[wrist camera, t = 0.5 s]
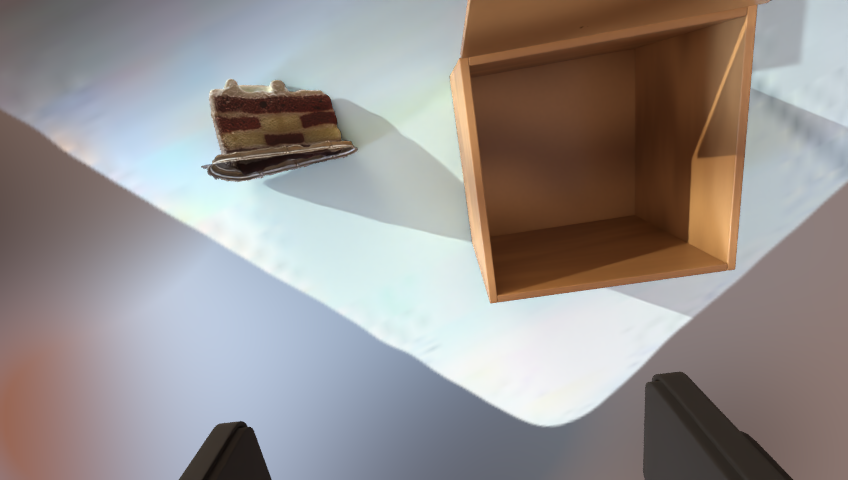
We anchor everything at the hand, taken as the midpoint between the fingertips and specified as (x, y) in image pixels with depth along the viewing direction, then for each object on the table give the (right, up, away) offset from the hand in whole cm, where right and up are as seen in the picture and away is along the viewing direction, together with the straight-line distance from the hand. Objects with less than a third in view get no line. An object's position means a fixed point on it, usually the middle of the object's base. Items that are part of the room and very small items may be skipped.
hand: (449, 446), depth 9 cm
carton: (+10, +13, +26) cm, 31 cm away
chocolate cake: (-13, +15, +26) cm, 32 cm away
